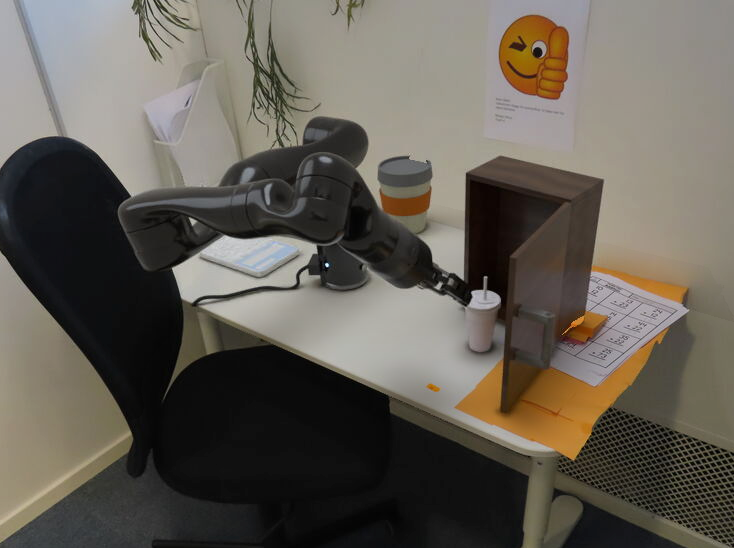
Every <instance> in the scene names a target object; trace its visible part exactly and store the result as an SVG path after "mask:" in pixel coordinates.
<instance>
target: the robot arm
mask: <svg viewBox="0 0 734 548" xmlns="http://www.w3.org/2000/svg"><path fill="white" fill-rule="evenodd" d="M369 144H370V141H369V136H368V133H367V131H366V130H365V128H364V127H363V126H362V125H361V124H359V123H357V122H355V121H353V120H350V119H345V118H338V117H333V116H325V115H318V116H317V115H316V116H314V117H312V118H311V119H310V120H309V121H308V122H307V123H306V125H305V127H304V130H303V132H302V141H301V144H300V145H289V146H282V147H277V148H271V149H266V150H263V151H259V152H256V153H254V154H252V155H250V156H248V157H246V158H243V159H240V160H239V161H237V162H235V163H234V164H232V165H231V166H229V167H228V168H227V170H226V171H225V173H224V174H223V176H222V177H221V179H220V181H219V183H218V185H217V186H206V187H199V186H162V187H157V188H152V189H148V190H145V191H142V192H139V193H137V194H135V195H133V196H130V197H129V198H127V199H126V200H123V202H122V203H120V204H119V206H118V209H117V216H118V220H119V223H120V226H121V228H122V230H123V232H124V234H125V236H126V238H127V241H128V242H129V245H130V247H131V249H132V251H133V253H134V256H135V257H136V259H137V262H138V263H139V265H140V266H141V268H142V269H143V270H145V271H146V272H148V273H155V274H156V273H162V272H166V271H168V270H171V269H173V268H175V267H178V266H180V265H181V264H184V263H185V262H187V261H188V260H190V259H192V258H193V257H195V256H196V255H198V254H200V252H201V251H202V250H204V249H205V248H207V247H208V246H210V245H211V244H213V243H214V242H216V241H218V240H220V239H222V238H224V237H226V236H228V237H231V238H235V239H243V240H247V239H257V238H265V237H266V238H272V237H273V238H274V237H280V238H281V237H282V238H288V239H294V240H298V241H302V242H305V243H308V244H312V245H316V253H312V255H311V257H310V258H309V260H308V263H307V264H306V265H304V266H302V267H301V268H299V270H298V271H297V272H296V274H295V281H296V282H295V284H293V285H292V286H289V287H281V286H274V285H261V286H254V287H251V288H247V289H242V290H239V291H236V292H235V291H234V292H231V293H227V294H207V295H202V296H199V297H197V298H196V299H195V300H194V301H193V302H192V303H191V305H190V307H195V306H196V305H198V304H199V303H200V302H202V301H205V300H224V299H230V298H235V297H238V296H242V295H246V294H250V293H255V292H257V291H258V292H259V291H266V290H267V291H293V290H296V289H297V288H299V287H300V285H301V279H300V276H301V274H302V273H303V272H304V271H306V270H307V272H308V273H307V274H308V276H318V277H319V278H320V286H322V287H327V288H329V289H332V290H337V291H347V290H353V289H357V288H359V287H361V286H363V285H364V284H365V283H366V282H368V278H369V275H368V270H370V272H372V273H373V274H375V275H377V277H380V278H381V279H383V280H384V281H386V282H387V283H388V284H390V285H392V286H393V287H395V288H397V289H400V290H401V289H402V290H407V289H408V290H409V289H413V288H414V287H416V288H418V289H420V290H429V291H430V292H432V293H434V294H436V295H437V296H441V297H445V296H446V297H448V298H449V299H452V301H455V302H457V303H458V304H459V305H461V306H462V307H463V306H465V307H467V306H468V305H469V304H470V302H471V300H472V298H473V296H472V293H471V292H472V291H473V289H474V288H472V286H470V285H469V284H467V283H466V282H465V281H464V279H462V278H461V277H460V276H458V275H457V274H456V273H455V272H449V271H447V270H445V269H443V268H441V267H440V265H439V264H437V263H436V262H435V261H434V260H433V253H432V250H431V248H430V246H429V245H428V244H427V243H426V241H424V240H423V239H422V238H420V237H419V236H418V235H417V234H416V233H415V234H414V233H413V232H412V231H411V230H409V229H408V228H407V227H406V226H405V225H403V224H402V223H401V222H399V221H397V220H395V219H393V218H392V217H391V216H390V215H388V214H387V213H386V212H385V211H384V210H383V208H382V207H380V206H379V204H378V203H377V200H376V198H375V197H374V195H373V193H372V192H371V190H370V188H369V186H368V185H367V183H366V181H365V180H364V178H363V176H362V175H361V173H360V172H359V170H358V169H357V168H358V167H360V165H361V164H362V163H363V162H364V160H365V158H366V156H367V154H368V150H369V146H370V145H369ZM191 219H192V220H194V221H196V222H195V223H193V224H192V222H191ZM439 284H441V286H440V288H439V289H438V288H436V287H438V285H439Z"/></svg>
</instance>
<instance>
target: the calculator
mask: <svg viewBox="0 0 734 548" xmlns="http://www.w3.org/2000/svg"><path fill="white" fill-rule="evenodd" d="M299 255H300V248H299V247H297V246H295V245H291V244H289V243H285V242H282V241H279V240H276V239H272V238H270V237H265V238H257V239H247V240H243V239H235V238H231V237H228V236H226V235H225V236H223V237H222V238H220V239H219V240H217V241H216V242H214V243H213V244H211V245H210V246H208V247H207V248H205V249H204V250H202V251H201V252H199V256H200V257H201V258H203V259H204V260H207V261H211V262H213V263H216V264H219V265H222V266H225V267H227V268H230V269H233V270H236V271H239V272H241V273H245V274H247V275H250V276H253V277H257V278H262V277H264V276H266V275H268V274H270V273H271V272H273V271H275V270H276V269H278V268H279V267H281V266H283V265H284V264H286V263H288V262H289V261H291V260H293V259H295V258H296V257H297V256H299Z"/></svg>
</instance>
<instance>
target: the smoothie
mask: <svg viewBox="0 0 734 548" xmlns="http://www.w3.org/2000/svg"><path fill="white" fill-rule="evenodd" d="M471 293H472V296H473V298H472V300H471V302H470V304H469V305H468V306H467V307H465V306H462V308H463V307H464V308H465V309H464V311H465V320H466V328H467V336H468V344H469V349H471V350H472V351H473V352H477V353H483V352H487V351H489V350H490V349H491V348H492V344H493V338H494V332H495V328H496V323H497V322H496V318H497V313H498V309H499V308H500V306H501V298H500V296H499V295H498V294H496V293H494V292H492V291H488V290H487V277H486V276H485V277H484V290H476V291H472V292H471Z"/></svg>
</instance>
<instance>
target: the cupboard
mask: <svg viewBox="0 0 734 548" xmlns="http://www.w3.org/2000/svg"><path fill="white" fill-rule="evenodd" d="M464 184H465V185H464V186H465V187H464V188H465V190H464V191H465V193H464V194H465V195H464V243H463V245H464V246H463V248H464V250H463V281H465V282H466V283H467V284H469V285H470V286H472V288H474V289H473V291H476V290H484V277H485V276H486V277H487V290H488V291H492V292H494V293H496V294H498V295H499V296H500V298H501V306H500V308H499V309H498V313H497V318H496V323H498V324H499V325H502V326H506V309H507V293H508V277H509V261H510V256H511V255H512V254H513V253H514V252H515V251H516V250H517V249H518V248H519V247H520V246H521V245H522V244H523V243H524V242H525V241H526V240H527V239H528V238H529V237H530V236H531V235H533V234H534V233H535V232H536V231H537V230H538V229H539V228H540V227H541V226H542V225H543V224H544V223H545V222H546V221H547V220H548V219H549V218H550V217H551V216H552V215H553V214H554V213H555V212H556V211H557V210H558V209H559V208H560V207H561V206H562V205H563V204H564V203H565V202H568V203H572V204H571V213H570V222H569V230H568V239H567V248H566V257H565V265H564V274H563V283H562V292H561V300H560V309H559V318H558V327H557V335H556V344H555V346H556V345H557V344H559V343H560V342H561V341H562V340H563V339H565V338H566V337H568V335H569V334H571V333H572V332H573V331H574V330H575V329H577V328H576V327H572V328H570V329H569V330H568V331H567V332H566V333H564V332H565V331H566V330H567V329H568V328H569V327H570V326H571V323H572V322H573V321H575V320H577V319H578V318H580V317H582V316H584V315H585V317H584V318H586V310H587V304H588V303H587V302H588V297H589V289H590V281H591V275H592V268H593V260H594V254H595V247H596V240H597V232H598V227H599V219H600V211H601V204H602V197H603V191H604V190H603V189H604V184H605V179H604V178H600V177H595V176H591V175H586V174H582V173H578V172H574V171H570V170H565V169H561V168H557V167H556V168H555V167H552V166H549V165H543V164H539V163H535V162H530V161H525V160H521V159H517V158H513V157H508V156H505V155H498V156H496V157H494V158H492V159H490V160H488V161H486V162H484V163H482V164H480V165H478V166H476V167H474V168H472V169H470V170H467V171H466V172H465V183H464ZM462 309H464V310H465V308H464V307H463V306H462ZM563 333H564V334H563ZM562 334H563V335H562Z"/></svg>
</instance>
